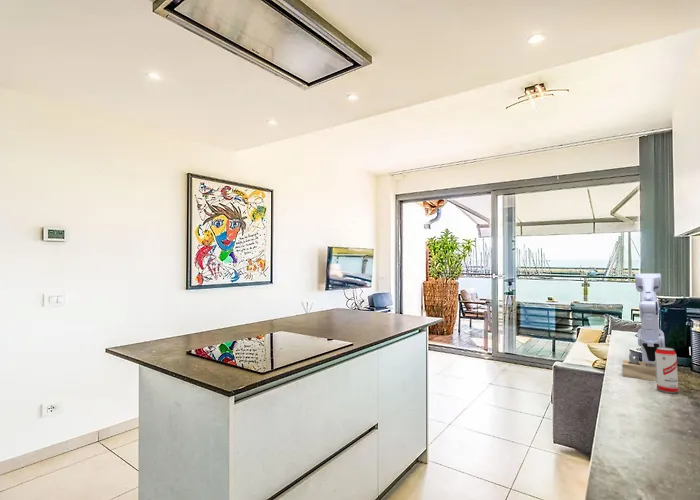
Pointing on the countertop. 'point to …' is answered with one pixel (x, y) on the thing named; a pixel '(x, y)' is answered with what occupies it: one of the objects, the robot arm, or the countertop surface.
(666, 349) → the beer can
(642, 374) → the housing
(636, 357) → the peg
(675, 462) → the countertop surface
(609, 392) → the countertop surface
